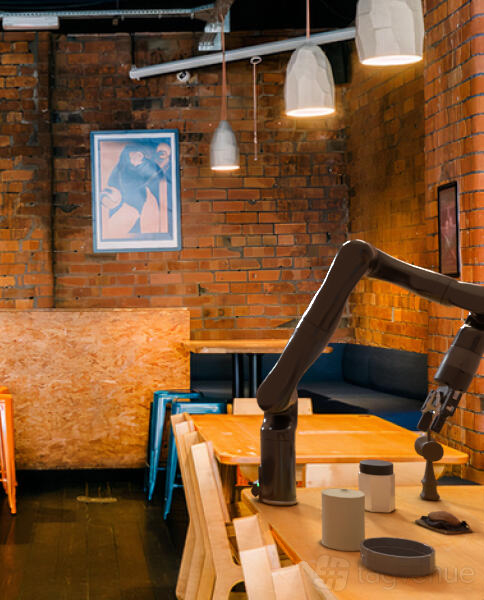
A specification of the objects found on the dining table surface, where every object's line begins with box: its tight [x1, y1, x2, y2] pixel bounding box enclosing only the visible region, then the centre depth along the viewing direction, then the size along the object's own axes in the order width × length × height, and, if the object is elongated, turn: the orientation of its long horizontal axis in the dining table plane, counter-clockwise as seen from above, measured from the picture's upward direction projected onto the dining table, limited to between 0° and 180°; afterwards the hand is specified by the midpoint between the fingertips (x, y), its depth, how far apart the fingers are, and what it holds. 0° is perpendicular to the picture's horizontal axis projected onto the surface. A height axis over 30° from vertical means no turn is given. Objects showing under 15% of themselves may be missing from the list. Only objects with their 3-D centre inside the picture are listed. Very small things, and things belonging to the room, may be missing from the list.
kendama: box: [413, 425, 445, 501], centre depth 217 cm, size 6×10×20 cm, turn 165°
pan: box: [359, 536, 437, 578], centre depth 161 cm, size 14×14×4 cm
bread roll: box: [414, 510, 473, 535], centre depth 189 cm, size 11×8×4 cm
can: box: [320, 487, 366, 552], centre depth 176 cm, size 9×9×12 cm
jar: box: [357, 459, 396, 513], centre depth 207 cm, size 9×8×12 cm
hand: (427, 431), depth 185 cm, fingers open, 8 cm apart
